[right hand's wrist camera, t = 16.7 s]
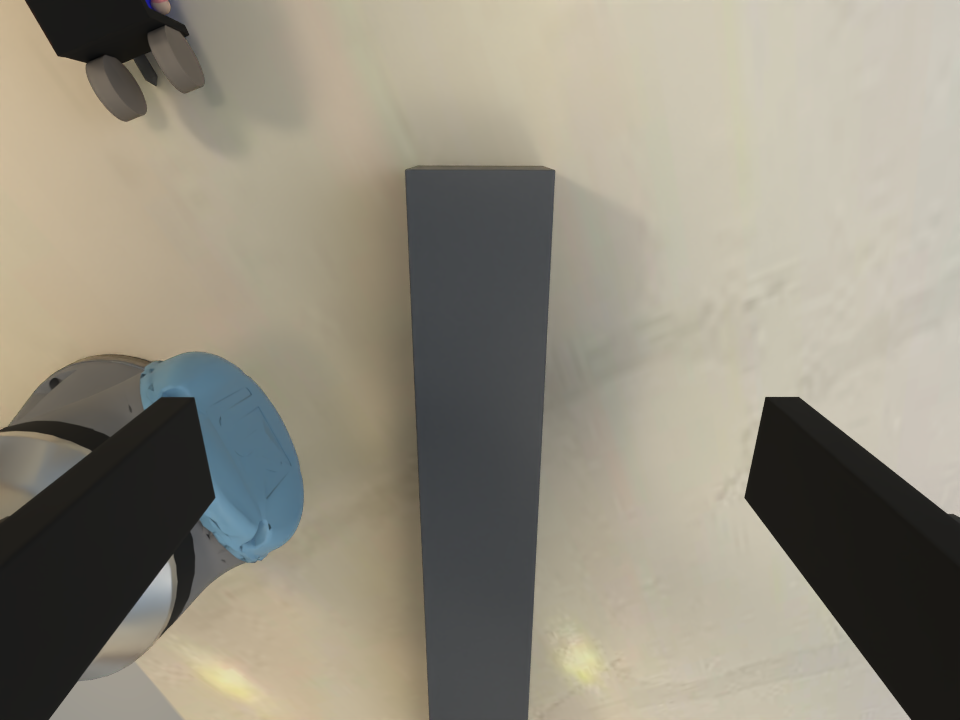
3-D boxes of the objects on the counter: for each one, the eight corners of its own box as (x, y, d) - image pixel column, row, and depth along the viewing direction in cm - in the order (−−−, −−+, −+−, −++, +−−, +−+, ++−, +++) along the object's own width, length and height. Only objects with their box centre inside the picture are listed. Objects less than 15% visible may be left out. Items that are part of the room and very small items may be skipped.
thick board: (416, 165, 40) (404, 169, 34) (543, 166, 40) (555, 169, 33) (437, 723, 61) (432, 790, 55) (519, 724, 61) (524, 790, 55)
